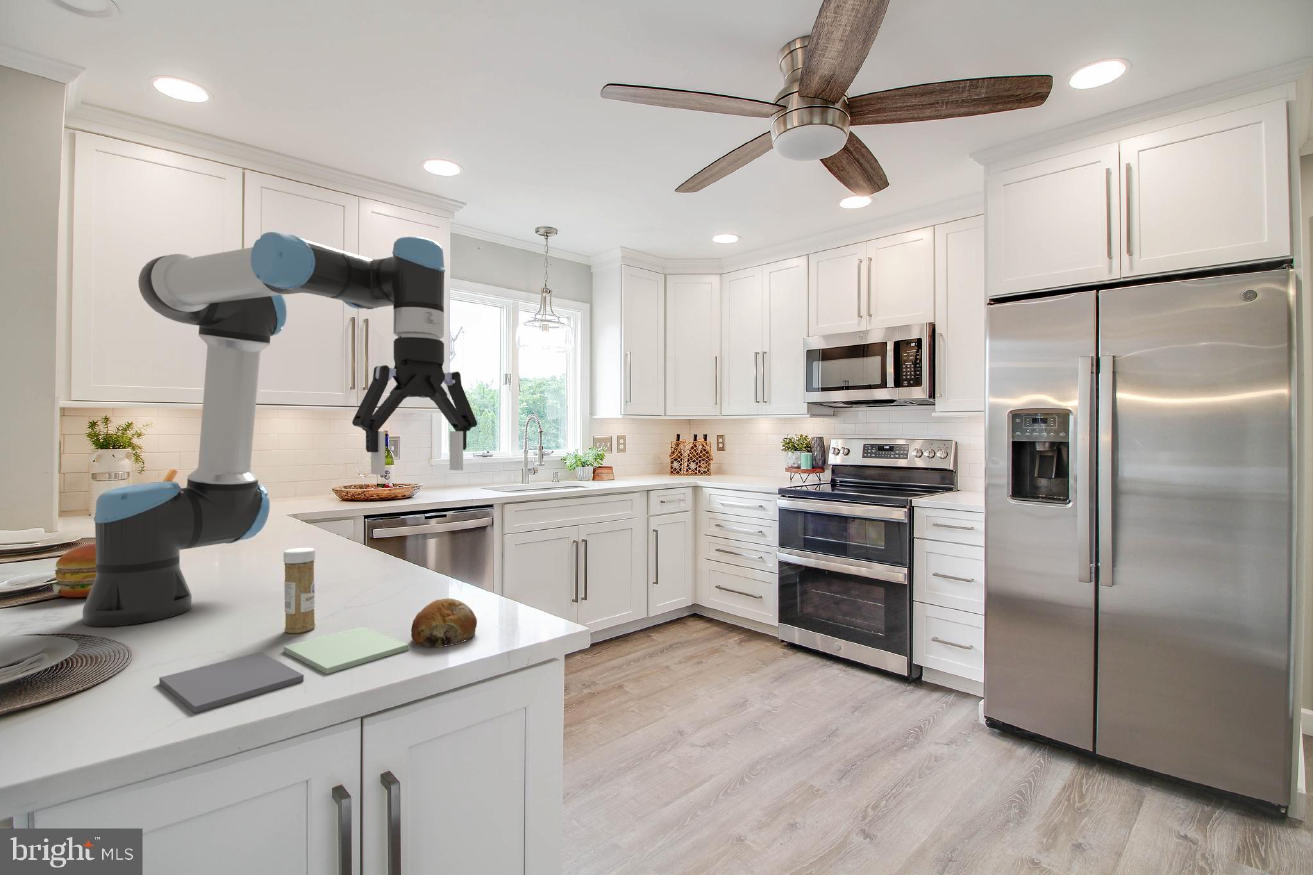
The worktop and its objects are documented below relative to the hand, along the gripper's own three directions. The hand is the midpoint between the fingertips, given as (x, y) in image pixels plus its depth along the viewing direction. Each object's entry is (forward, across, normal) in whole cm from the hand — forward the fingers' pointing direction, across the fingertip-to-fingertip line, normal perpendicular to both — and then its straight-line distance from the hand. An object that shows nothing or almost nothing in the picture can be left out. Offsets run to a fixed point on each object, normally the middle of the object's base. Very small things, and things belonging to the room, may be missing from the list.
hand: (419, 472), depth 99 cm
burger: (+27, -25, +78) cm, 86 cm away
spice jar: (+27, -10, +20) cm, 35 cm away
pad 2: (+27, -10, +4) cm, 29 cm away
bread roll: (+27, +3, -3) cm, 27 cm away
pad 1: (+27, -25, +4) cm, 37 cm away
